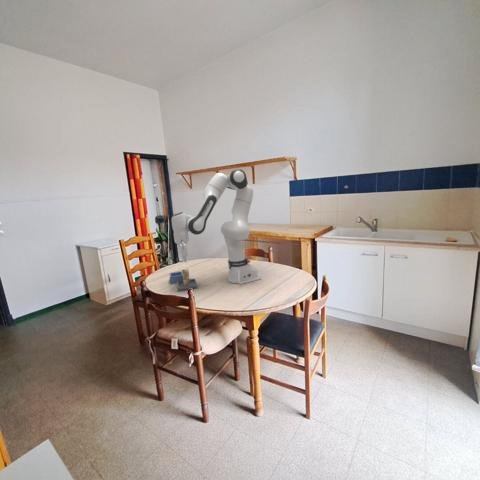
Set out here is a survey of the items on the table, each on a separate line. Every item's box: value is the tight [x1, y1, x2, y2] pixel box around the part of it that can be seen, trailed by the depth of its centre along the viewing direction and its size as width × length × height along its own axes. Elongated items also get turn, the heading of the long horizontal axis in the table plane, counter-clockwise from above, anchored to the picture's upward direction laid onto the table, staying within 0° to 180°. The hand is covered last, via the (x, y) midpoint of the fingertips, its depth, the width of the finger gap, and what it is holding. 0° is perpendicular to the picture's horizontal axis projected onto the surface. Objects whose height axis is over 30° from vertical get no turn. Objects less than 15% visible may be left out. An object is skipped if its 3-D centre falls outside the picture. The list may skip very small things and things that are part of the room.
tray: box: [176, 278, 199, 292], centre depth 169 cm, size 12×12×2 cm
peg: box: [181, 268, 191, 286], centre depth 168 cm, size 4×4×10 cm
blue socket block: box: [169, 270, 183, 285], centre depth 181 cm, size 9×9×5 cm
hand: (184, 259), depth 166 cm, fingers open, 8 cm apart
